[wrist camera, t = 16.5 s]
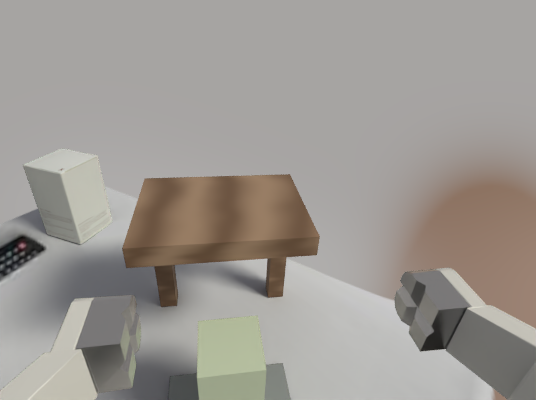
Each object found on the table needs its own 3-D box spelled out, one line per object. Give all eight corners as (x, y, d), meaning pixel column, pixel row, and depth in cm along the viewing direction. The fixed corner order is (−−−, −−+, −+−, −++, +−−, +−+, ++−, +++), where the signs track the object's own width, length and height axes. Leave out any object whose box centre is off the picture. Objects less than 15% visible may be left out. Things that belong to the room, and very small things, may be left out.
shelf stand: (150, 381, 35) (122, 248, 27) (162, 295, 46) (144, 178, 37) (300, 363, 38) (319, 236, 29) (279, 285, 48) (289, 174, 39)
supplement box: (114, 222, 60) (99, 154, 53) (80, 246, 54) (59, 173, 47) (81, 212, 62) (63, 146, 55) (45, 234, 56) (20, 163, 49)
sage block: (204, 453, 30) (196, 378, 24) (204, 396, 34) (198, 321, 28) (260, 444, 31) (266, 369, 25) (254, 389, 35) (257, 315, 29)
